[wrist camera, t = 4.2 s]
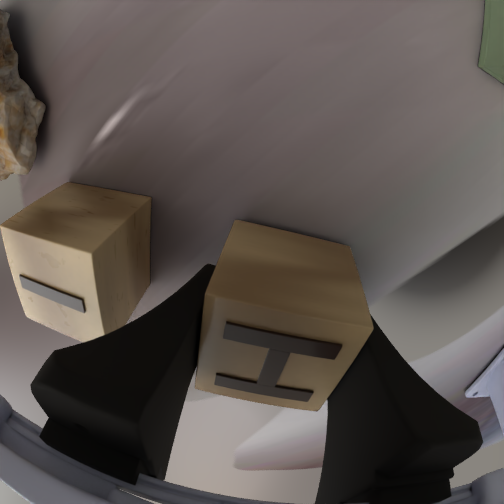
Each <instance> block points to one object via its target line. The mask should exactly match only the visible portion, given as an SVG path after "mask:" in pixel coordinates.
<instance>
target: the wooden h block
mask: <svg viewBox="0 0 504 504" xmlns="http://www.w3.org/2000/svg"><path fill="white" fill-rule="evenodd" d="M373 329H374V327H373V323H372V319H371V316H370V312H369V308H368V305H367V301H366V297H365V294H364V290H363V287H362V284H361V280H360V277H359V273H358V270H357V267H356V264H355V261H354V257H353V254H352V251H351V248H350V246H346V245H342V244H338V243H334V242H330V241H326V240H322V239H318V238H314V237H310V236H306V235H301V234H297V233H293V232H289V231H284V230H280V229H276V228H271V227H267V226H263V225H258V224H254V223H250V222H245V221H241V220H235V221H234V223H233V226H232V228H231V230H230V233H229V235H228V238H227V240H226V243H225V245H224V247H223V250H222V252H221V255H220V257H219V260H218V262H217V265H216V267H215V270H214V272H213V275H212V277H211V280H210V282H209V285H208V287H207V290H206V292H205V297H204V305H203V314H202V322H201V331H200V341H199V350H198V360H197V370H196V381H195V389H198V390H202V391H206V392H210V393H215V394H219V395H223V396H228V397H232V398H237V399H242V400H247V401H252V402H258V403H263V404H268V405H274V406H281V407H287V408H294V409H302V410H309V411H318V410H319V409H320V408H321V406H322V405H323V404H324V402H325V401H326V400H327V398H328V397H329V396H330V394H331V393H332V391H333V390H334V389H335V387H336V386H337V384H338V383H339V382H340V380H341V379H342V377H343V376H344V374H345V373H346V371H347V370H348V368H349V367H350V365H351V364H352V362H353V361H354V359H355V358H356V356H357V355H358V353H359V352H360V350H361V349H362V347H363V345H364V344H365V342H366V341H367V339H368V337H369V336H370V334H371V332H372V331H373Z"/></svg>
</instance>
